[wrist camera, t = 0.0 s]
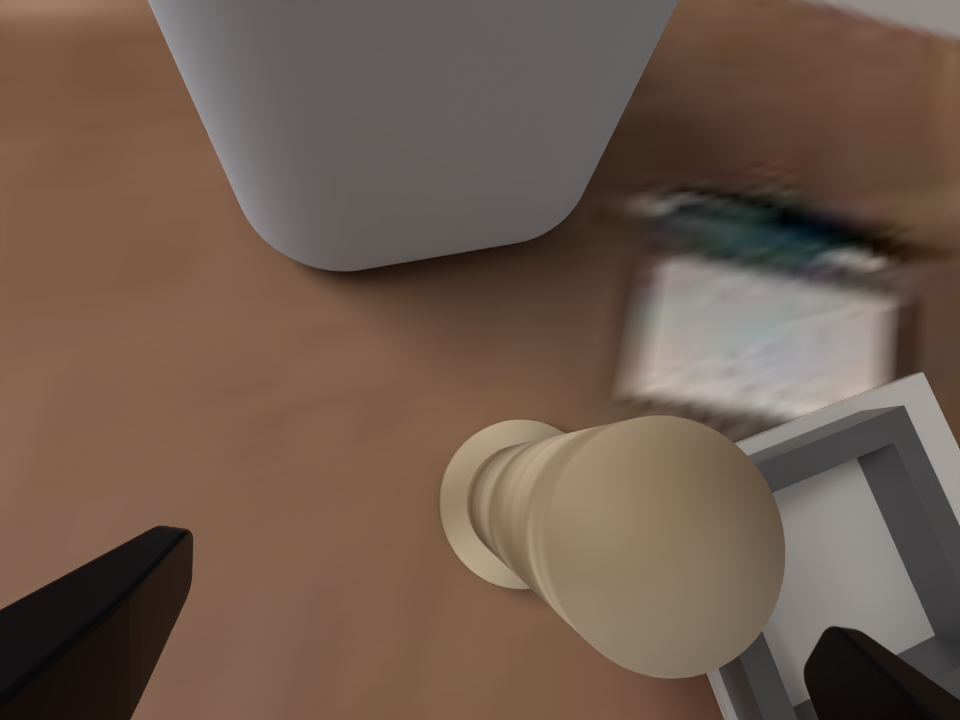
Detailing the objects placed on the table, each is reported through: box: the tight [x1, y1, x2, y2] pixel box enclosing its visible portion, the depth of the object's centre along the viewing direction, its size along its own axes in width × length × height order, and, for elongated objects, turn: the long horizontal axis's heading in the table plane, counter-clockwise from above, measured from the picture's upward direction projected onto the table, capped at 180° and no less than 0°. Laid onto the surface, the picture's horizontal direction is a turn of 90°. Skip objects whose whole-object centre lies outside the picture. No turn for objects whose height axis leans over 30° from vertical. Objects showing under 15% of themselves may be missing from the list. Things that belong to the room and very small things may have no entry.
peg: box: [439, 416, 785, 679], centre depth 16 cm, size 6×6×13 cm
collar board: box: [706, 372, 960, 720], centre depth 22 cm, size 18×15×3 cm
